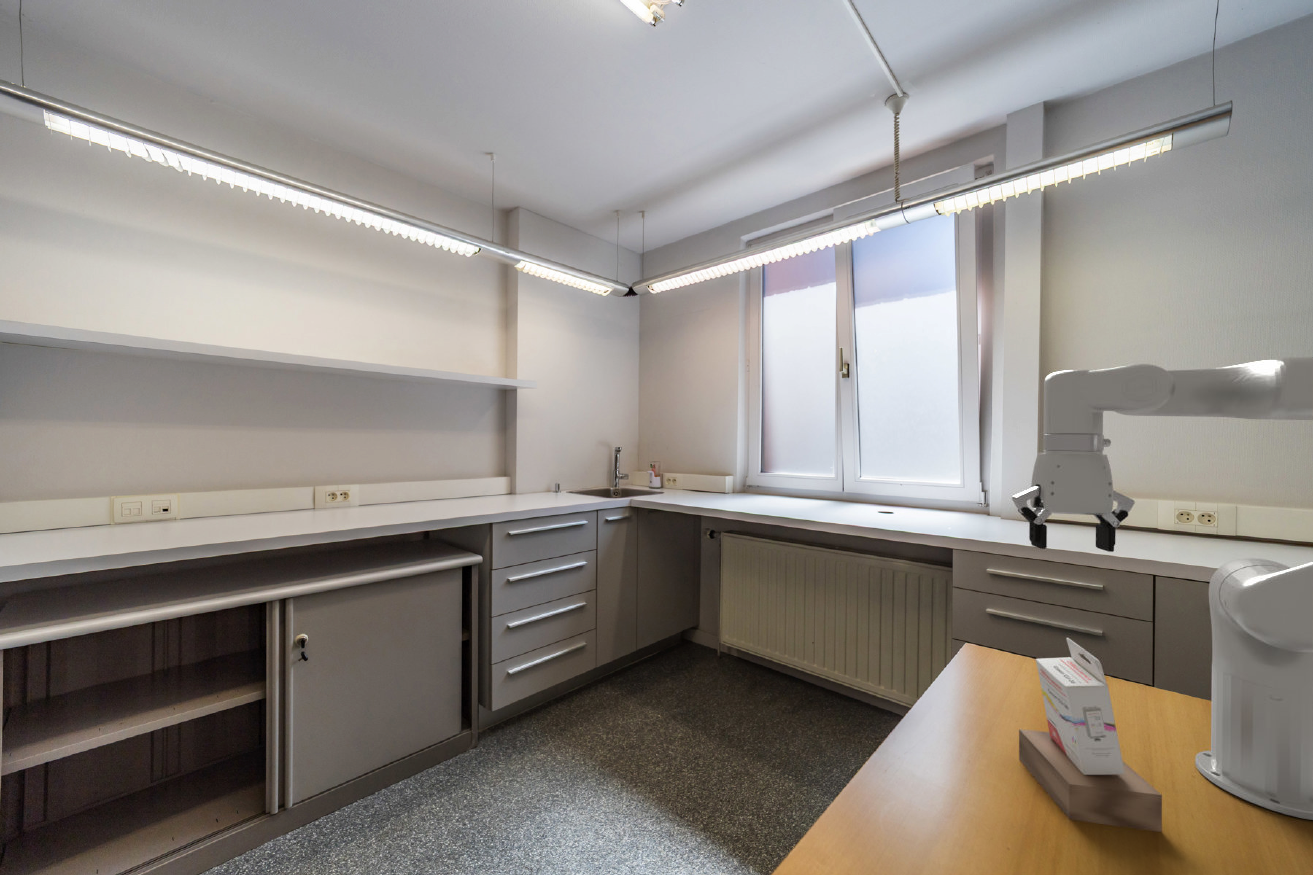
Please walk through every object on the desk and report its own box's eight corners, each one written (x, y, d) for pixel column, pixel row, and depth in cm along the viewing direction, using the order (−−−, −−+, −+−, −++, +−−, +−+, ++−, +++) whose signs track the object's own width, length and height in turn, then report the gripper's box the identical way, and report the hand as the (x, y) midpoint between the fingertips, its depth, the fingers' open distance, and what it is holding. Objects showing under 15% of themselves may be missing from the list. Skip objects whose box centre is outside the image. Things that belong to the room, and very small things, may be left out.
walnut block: (1095, 770, 72) (1095, 736, 72) (1161, 835, 61) (1161, 794, 61) (1019, 761, 74) (1019, 728, 74) (1069, 823, 63) (1069, 783, 63)
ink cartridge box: (1047, 737, 72) (1029, 637, 73) (1087, 736, 71) (1067, 634, 72) (1082, 776, 64) (1061, 662, 65) (1127, 776, 63) (1105, 660, 63)
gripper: (1115, 445, 84) (1114, 546, 84) (1002, 444, 87) (1001, 541, 87) (1151, 446, 76) (1150, 556, 76) (1027, 445, 79) (1026, 551, 79)
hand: (1071, 548), depth 82 cm, fingers open, 9 cm apart
